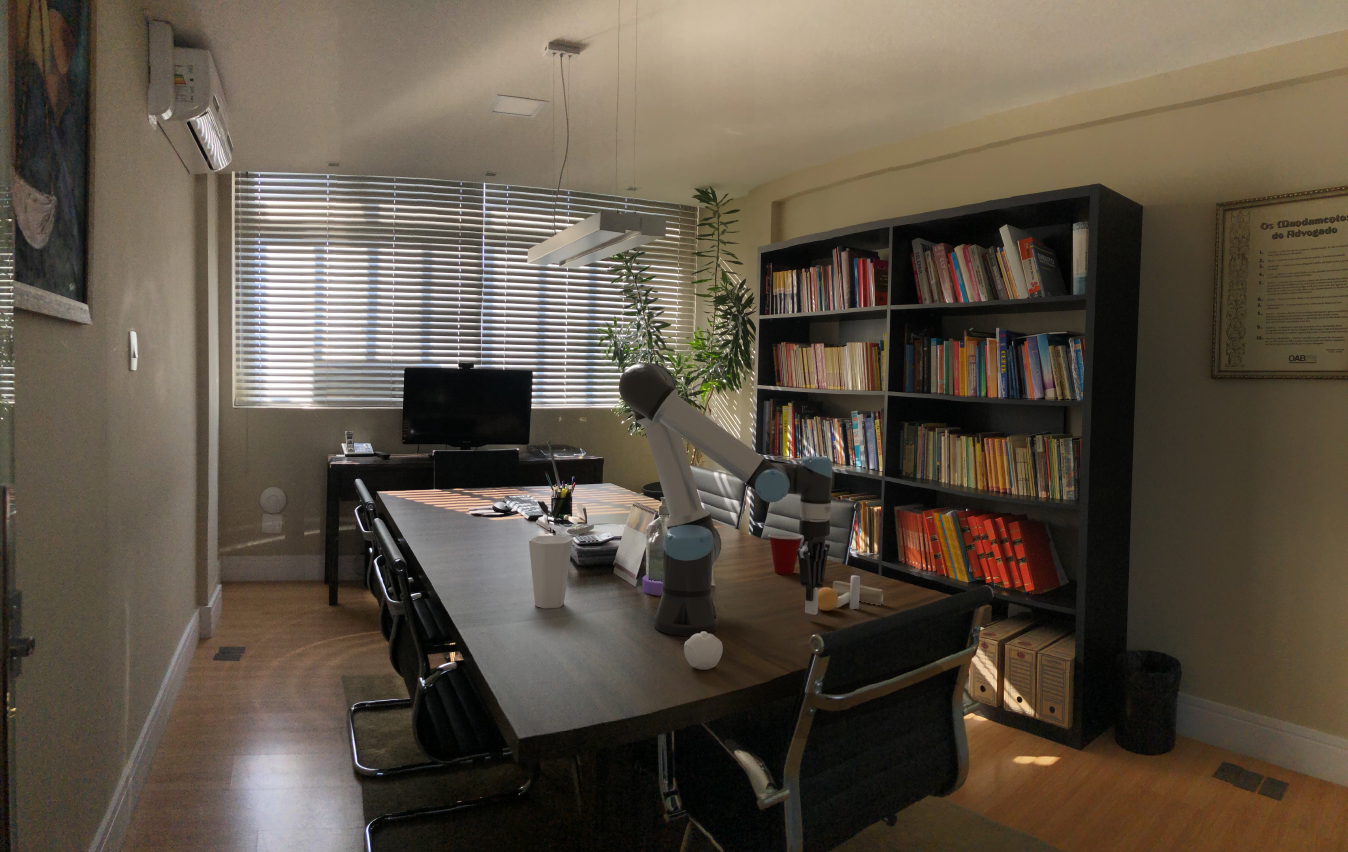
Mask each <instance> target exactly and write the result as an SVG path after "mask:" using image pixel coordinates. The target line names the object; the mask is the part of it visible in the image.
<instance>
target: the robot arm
mask: <svg viewBox="0 0 1348 852" xmlns="http://www.w3.org/2000/svg"><path fill="white" fill-rule="evenodd" d="M618 391H619V395H620V397H621V400H622V401H623V403H624V404H626V406H628V407H630V408H631V410H632V411H633V415H634V419H635V422H636V423H637V424H639V425H641V426H642V427H643V428H644V432H645V435H646V439H647V441H648V442H647V443H648V445H649V449H650V452H651V456H652V459H653V463H654V466H655V469H656V472H657V476H658V480H659V483H660V487H661V490H662V494H663V498H664V501H665V503H666V508H667V512H668V514H669V519H668V521H667V523H666V529H667V531H666V532H665V533H664V538H663V542H662V546H663V547H662V548H663V559H662V560H663V564H662V565H663V566H662V573H663V593H662V596H661V597H660V600H659V603H658V606H657V610H656V613H655V615H654V620H653V621H654V623H653V624H654V625H653V626H654V628H655V629H656V630H657V631H659V632H661V633H664V634H668V635H673V636H681V637H691V636H693V635H694V634H697V633H699V634H700V633H701V632H702V631H705V632H707V633H708V634H713V633H714V632H716V631H717V630H718V628H719V627H718V622H719V621H718V619H719V618H718V615H717V612H716V609H715V605H714V601H713V598H712V587H713V586H712V581H713V577H712V576H713V565H714V563H715V562H717V560H718V558H719V555H720V554H721V550H722V538H721V535H720V533H719V531H718V530H717V529H716V527H715V526H714V522H713V519H712V515H711V513H710V511H709V510H707V509H705V508H704V507H703V505H702V501H701V498H700V495H699V491H698V488H697V485H696V482H695V478H694V474H693V470H692V467H691V464H690V460H689V457H688V453H687V450H686V447H685V446H686V445H685V444H684V441H686V442H687V443H689V444H690V445H691V446H693V447H694V448H695V449H697V450H698V451H699V452H701V453H703V454H704V455H705V456H706V457H707V458H709V459H711V460H712V461H714V463H716V464H718V466H720V467H722V468H723V469H725V470H726V471H727V472H729V473H730V474H732V475H733V476H734V477H735V478H737V479H738V480H740V481H741V482H743V483H744V484H745V485H747V486H748V487H749V488H750V489H752V490H753V491H754V492H756V494H757V496H758V497H759V498H760V499H761V500H763V501H765V502H766V503H776V502H780V501H782V499H784V498H786V496H788V495H800V499H799V501H800V503H799V517H800V519H799V521H798V522H799V523H798V526H799V527H798V533H799V534H800V536H803V541H802V547H801V549H800V548H799V549H798V550H797V559H798V565H799V567H798V568H799V579H800V586H801V587H802V588H805V603H804V613H805V614H809V615H814V616H815V615H817V614H818V609H819V607H818V590H819V589H820V588H824V584H822V583H824V580H825V575H826V568H827V561H828V556H829V555H828V554H829V550H830V548H831V544H829V543H826V537H829V536H830V535H831V534H830V533H831V521H830V520H829V519H831V511H833V510H832V506H831V505H832V488H833V487H832V485H833V461H832V460H831V459H830V458H829V457H826V456H822V455H821V456H819V455H816V456H815V455H814V456H813V455H805V456H803V457H802V458H801V462H800V463H780V462H771V461H770V460H767V459H766V458H764V457H763V456H762V455H761V454H759V453H758V452H756V450H754V449H752V448H751V447H750V446H748V445H747V444H745V443H744V442H743V441H741V440H740V439H738V438H737V437H736V436H734V435H733V434H731V433H730V432H729V431H727V430H726V429H725V428H723V427H722V426H721V425H719V424H717V423H716V422H714V421H713V420H712V419H711V418H709V417H708V416H706V415H705V414H704V413H702V412H701V411H699V410H698V409H697V408H695V407H694V406H693V405H691V403H690V404H689V402H687V401H686V400H684V399H683V398H682V397H680V396H679V392H678V389H677V384H676V379H675V378H674V376H673V374H672V373H671V372H670V371H669V370H668V369H667V368H665V366H662V365H660V364H657V363H656V364H655V363H646V362H640V363H639V362H638V363H635V364H632V365H630V366H629V367H627V368H626V369H625V370H624V371H623V373H622V374H621V376H620V379H619V382H618Z"/></svg>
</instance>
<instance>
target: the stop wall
mask: <svg viewBox="0 0 1348 852" xmlns="http://www.w3.org/2000/svg"><path fill="white" fill-rule="evenodd" d="M850 586H851V582H845V581H841V580H834V581H833V582H832V589H833V590H834V591H835V592H836V593H837V596H838V597H840V596H842V595H844V594H846V593H848V592H849V593H850ZM859 601H861V602H860V603H864V602H865V604H868V603H870V605H873V604H875V605H874V606H878V605H880V606H882V605H883V604H884V589H880V588H876V587H871V586H866V585H862V584H860V594H859ZM881 604H882V605H881Z"/></svg>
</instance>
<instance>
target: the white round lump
mask: <svg viewBox="0 0 1348 852" xmlns="http://www.w3.org/2000/svg"><path fill="white" fill-rule="evenodd" d="M723 650H724V647H723V643H722V641H721V640H720V639H719V638H717V637H716V636H715V635H714V634H713V633H709V634H708V633H707V632H705V631H702V632H701V633H700V634H699V633H697V634H694V635H693V636H690V638H689V639H687V640H686V641H684V645H683V655H684V656H685V657H684V658H685V659H686V661H687V663H688V664H689V665H690V666H691V667H693V668H695V669H698V670H701V671H702V670H703V671H706V670H710V669H713V668H714V667H716V666H717V665H718V664H719V662H720V661H721V660H720V659H722V658H721V657H722V655H723Z"/></svg>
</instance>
